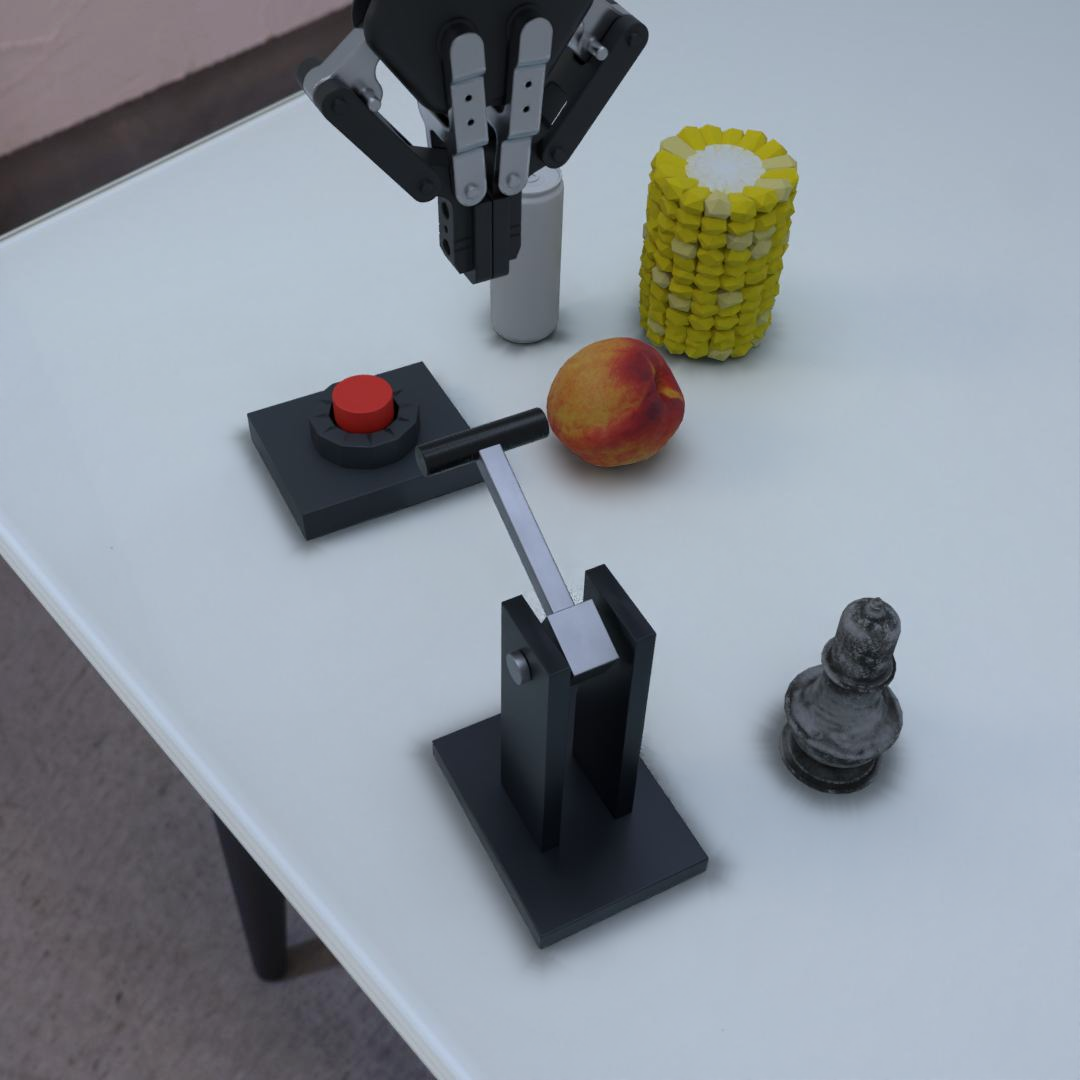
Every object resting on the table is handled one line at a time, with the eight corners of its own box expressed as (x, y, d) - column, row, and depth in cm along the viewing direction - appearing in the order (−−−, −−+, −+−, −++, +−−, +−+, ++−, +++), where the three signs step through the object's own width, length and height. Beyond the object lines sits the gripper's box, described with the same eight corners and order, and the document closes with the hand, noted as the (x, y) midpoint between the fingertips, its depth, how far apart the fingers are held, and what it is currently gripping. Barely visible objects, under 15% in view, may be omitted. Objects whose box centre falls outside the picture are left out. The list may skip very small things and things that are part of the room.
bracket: (432, 753, 67) (420, 557, 56) (586, 691, 70) (602, 493, 59) (540, 950, 60) (549, 767, 49) (706, 870, 63) (749, 682, 52)
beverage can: (521, 356, 90) (523, 202, 81) (475, 323, 92) (473, 171, 83) (572, 328, 92) (580, 176, 83) (526, 296, 94) (529, 146, 86)
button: (347, 441, 78) (345, 419, 77) (325, 406, 80) (323, 384, 79) (403, 424, 79) (401, 402, 78) (380, 389, 81) (378, 367, 80)
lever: (411, 458, 58) (417, 436, 56) (530, 420, 60) (542, 396, 58) (520, 707, 55) (532, 693, 53) (643, 657, 57) (659, 642, 55)
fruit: (634, 512, 80) (644, 412, 74) (522, 461, 82) (524, 361, 77) (694, 440, 84) (709, 341, 78) (587, 394, 87) (593, 295, 81)
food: (762, 312, 96) (747, 403, 90) (611, 260, 96) (585, 349, 89) (848, 139, 85) (838, 230, 78) (677, 79, 84) (652, 166, 78)
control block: (306, 541, 77) (298, 492, 74) (251, 439, 83) (242, 390, 80) (489, 479, 81) (489, 431, 78) (424, 386, 87) (421, 338, 84)
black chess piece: (764, 781, 66) (803, 629, 58) (784, 692, 70) (823, 538, 62) (880, 812, 65) (938, 662, 57) (894, 720, 69) (950, 567, 61)
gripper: (605, -278, 43) (581, 185, 56) (219, -229, 39) (287, 262, 52) (729, -210, 39) (673, 277, 51) (308, -145, 35) (359, 371, 47)
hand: (479, 269), depth 51 cm, fingers closed
